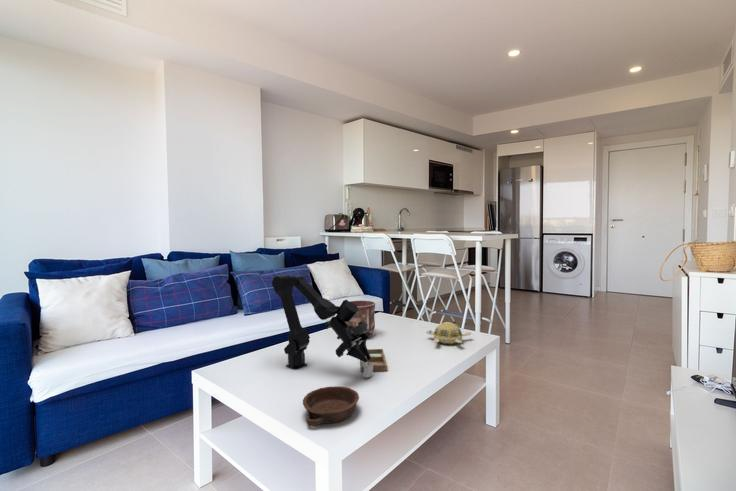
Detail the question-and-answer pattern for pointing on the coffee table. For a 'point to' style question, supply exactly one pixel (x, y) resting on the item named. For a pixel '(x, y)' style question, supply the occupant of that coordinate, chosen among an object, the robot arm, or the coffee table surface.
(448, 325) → the decorative figurine
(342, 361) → the coffee table surface
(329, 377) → the coffee table surface
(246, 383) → the coffee table surface
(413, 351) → the coffee table surface
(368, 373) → the lighter
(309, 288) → the robot arm
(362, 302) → the pottery
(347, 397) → the dish
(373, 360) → the organiser
